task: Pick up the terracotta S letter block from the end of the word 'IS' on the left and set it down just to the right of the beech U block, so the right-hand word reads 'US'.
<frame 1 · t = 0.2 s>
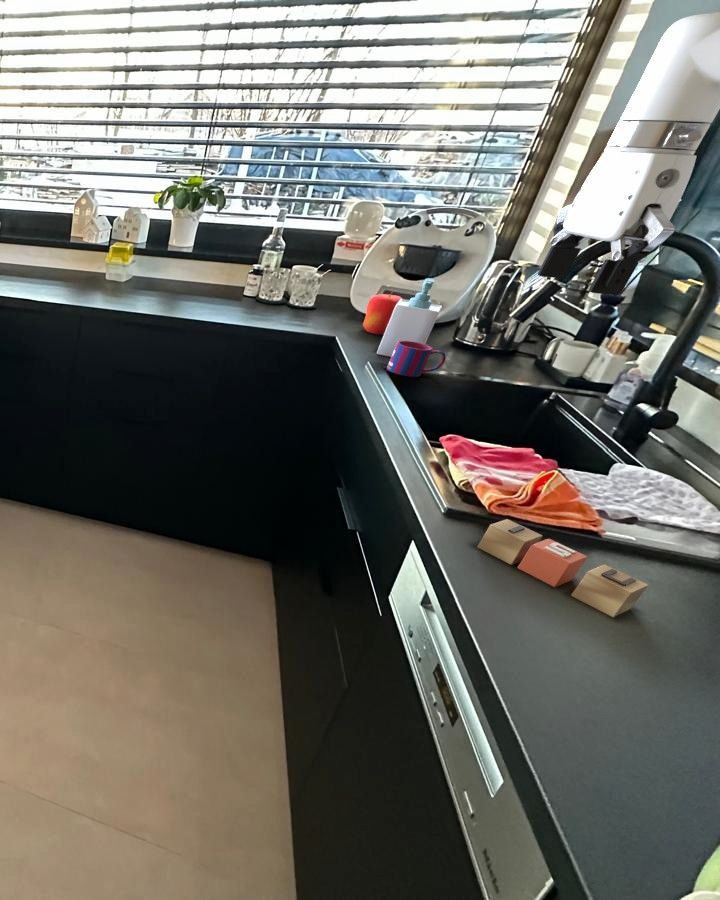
hand: (575, 284, 82), 32 cm above the counter, tool pointing down, fingers open, 9 cm apart
block U: (598, 604, 75), on the counter
block I: (501, 554, 83), on the counter
block S: (543, 575, 79), on the counter
apple: (375, 333, 177), on the counter
mug: (410, 375, 146), on the counter
soap bottle: (397, 355, 160), on the counter
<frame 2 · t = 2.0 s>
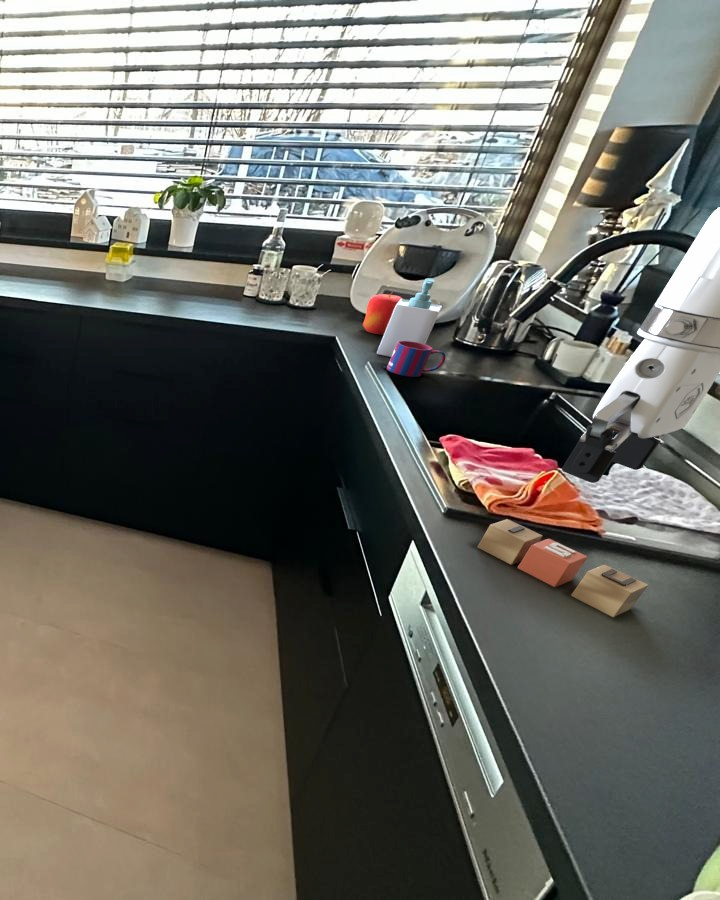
hand: (600, 470, 73), 15 cm above the counter, tool pointing down, fingers open, 9 cm apart
nothing on the counter moved.
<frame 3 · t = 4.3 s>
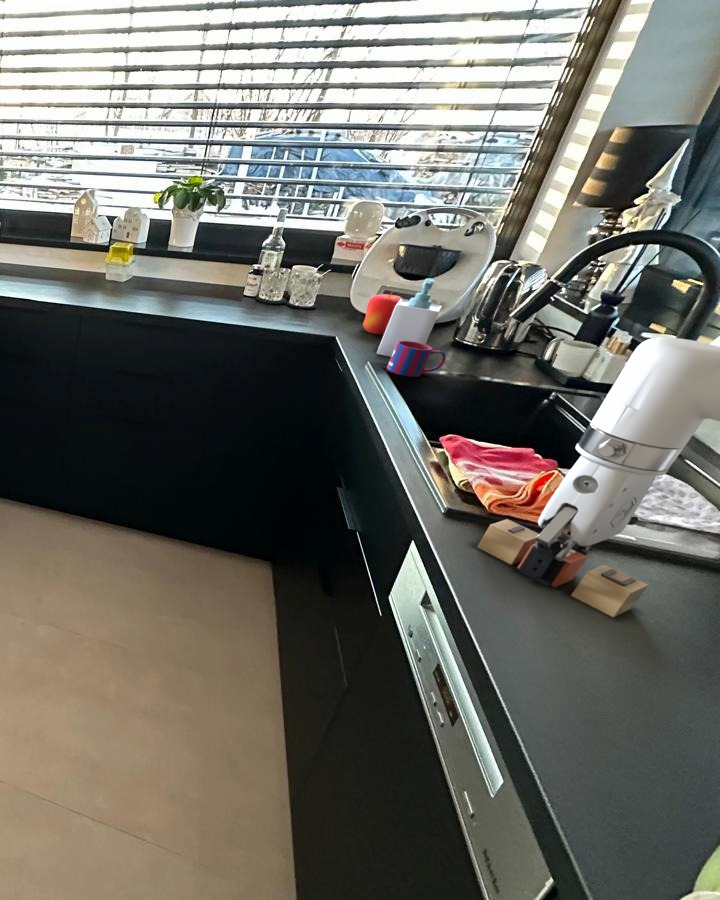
hand: (544, 573, 79), 0 cm above the counter, tool pointing down, fingers closed on block S, 4 cm apart
block S: (543, 575, 79), on the counter, touching gripper
everything else where it was.
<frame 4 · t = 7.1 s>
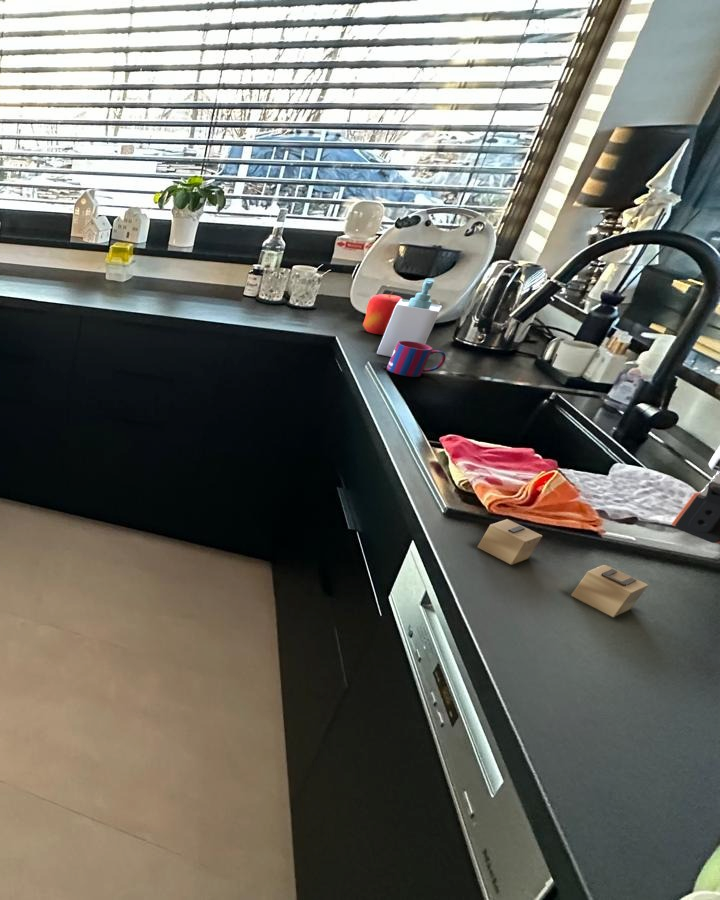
hand: (707, 529, 66), 13 cm above the counter, tool pointing down, fingers closed on block S, 4 cm apart
block S: (705, 531, 66), point 13 cm above the counter, touching gripper
everything else where it was.
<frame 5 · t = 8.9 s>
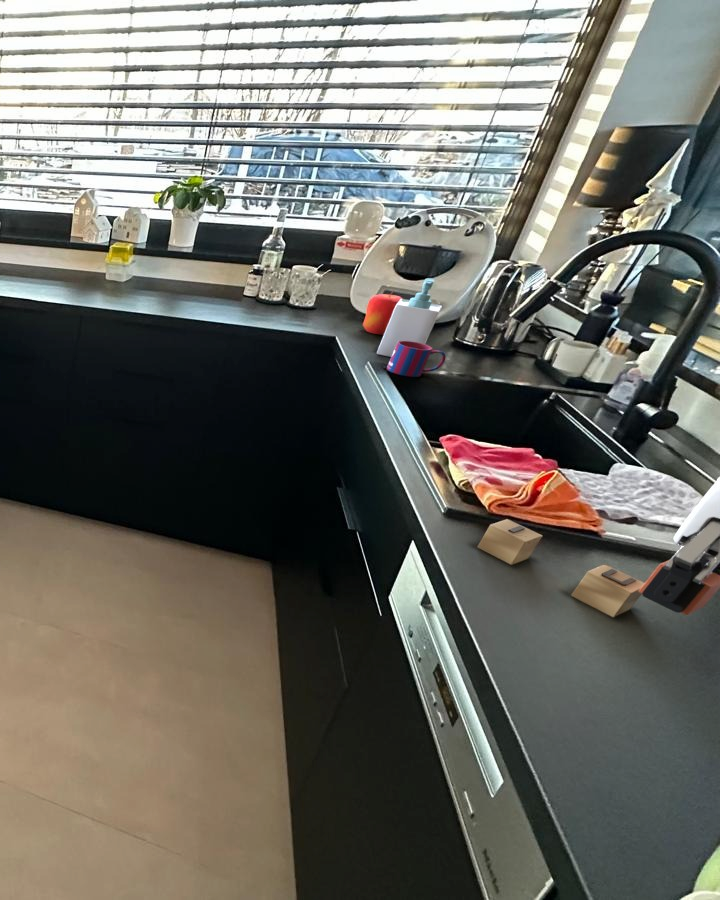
hand: (672, 597, 69), 5 cm above the counter, tool pointing down, fingers closed on block S, 4 cm apart
block S: (670, 599, 69), point 4 cm above the counter, touching gripper
everything else where it was.
when the fingers open (0 cm above the counter, at t = 10.4 s): block S stays where it is, on the counter.
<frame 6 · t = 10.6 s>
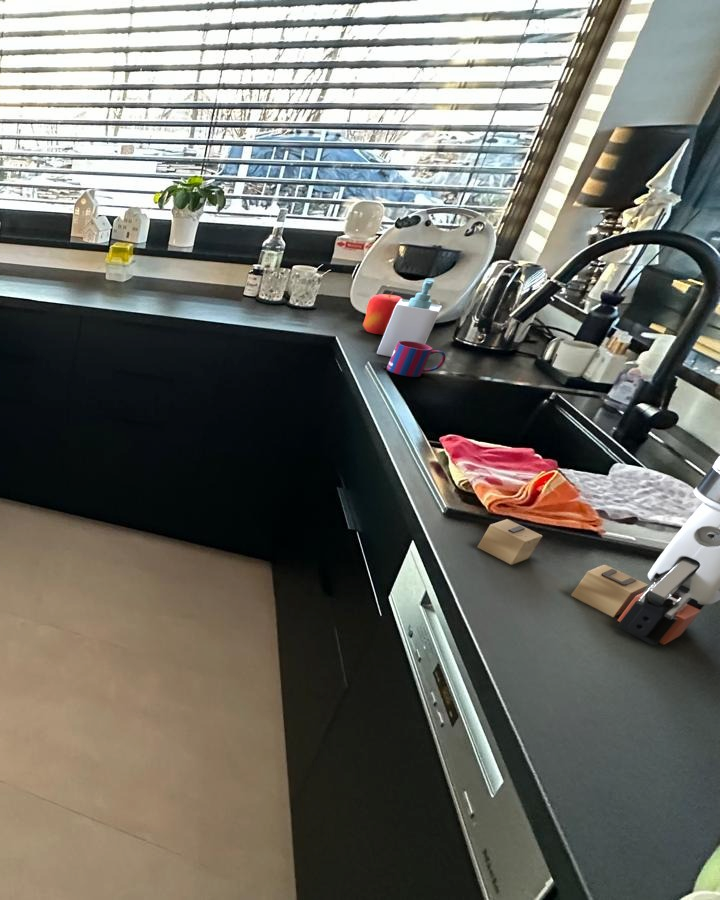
hand: (650, 628, 71), 0 cm above the counter, tool pointing down, fingers open, 5 cm apart
block S: (646, 629, 71), on the counter
everything else where it was.
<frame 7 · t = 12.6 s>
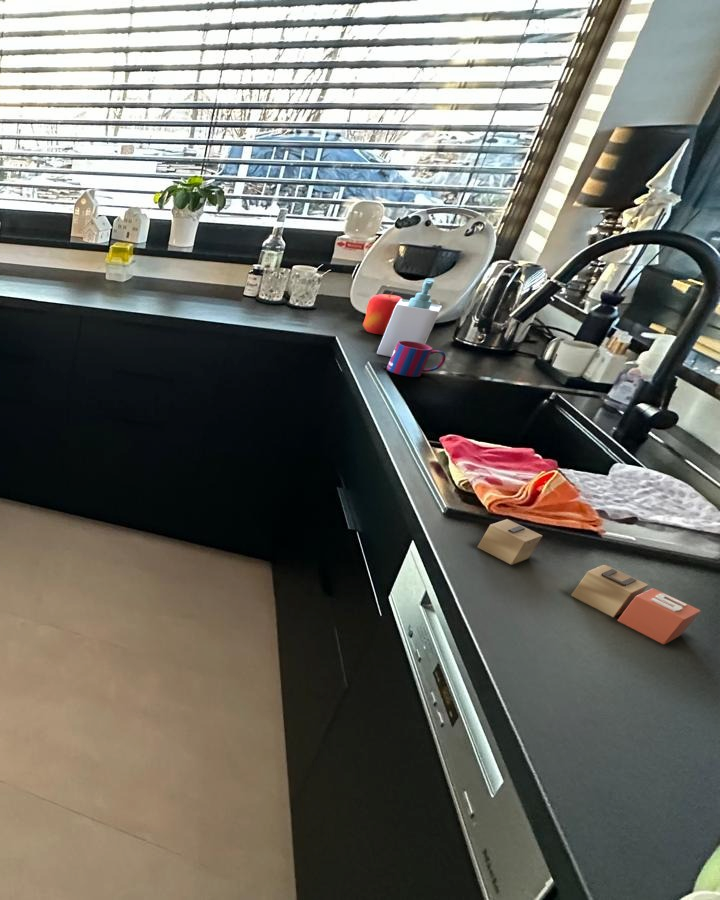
nothing on the counter moved.
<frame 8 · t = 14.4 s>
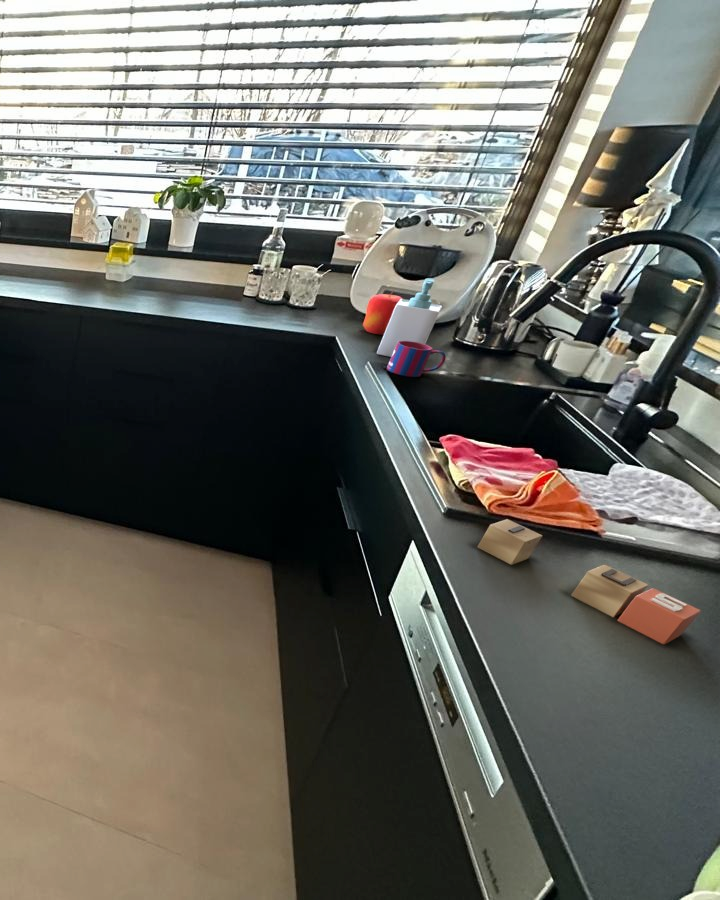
nothing on the counter moved.
at the end: block S 0.4 cm from the target spot on the counter beside the block U, on the counter; block S tilted 0°; block U moved 0.0 cm from its start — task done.
